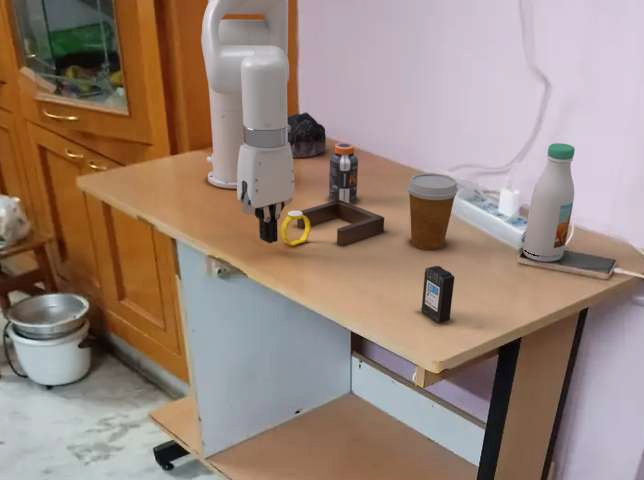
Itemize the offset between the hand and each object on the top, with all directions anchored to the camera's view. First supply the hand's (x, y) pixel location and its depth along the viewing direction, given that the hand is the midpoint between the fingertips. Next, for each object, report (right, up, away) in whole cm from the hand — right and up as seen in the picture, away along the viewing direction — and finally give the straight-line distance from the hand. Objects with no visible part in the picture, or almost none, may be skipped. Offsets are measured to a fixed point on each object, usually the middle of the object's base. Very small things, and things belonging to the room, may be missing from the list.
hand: (268, 240), depth 156 cm
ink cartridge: (+29, -18, -17) cm, 38 cm away
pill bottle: (+13, +16, +26) cm, 33 cm away
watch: (+5, +1, +6) cm, 7 cm away
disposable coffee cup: (+30, +2, +8) cm, 31 cm away
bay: (+12, +6, +12) cm, 18 cm away
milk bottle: (+52, -1, +6) cm, 52 cm away
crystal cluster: (+2, +38, +52) cm, 64 cm away
